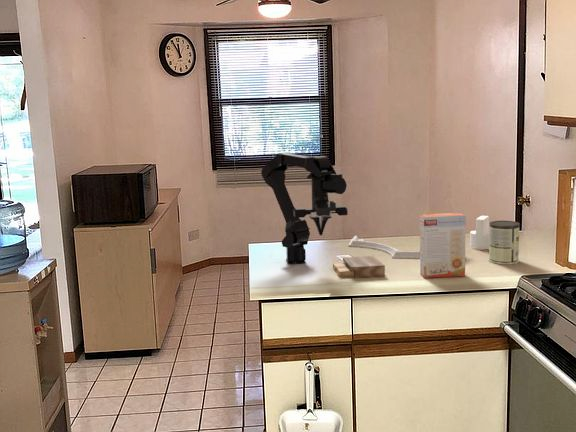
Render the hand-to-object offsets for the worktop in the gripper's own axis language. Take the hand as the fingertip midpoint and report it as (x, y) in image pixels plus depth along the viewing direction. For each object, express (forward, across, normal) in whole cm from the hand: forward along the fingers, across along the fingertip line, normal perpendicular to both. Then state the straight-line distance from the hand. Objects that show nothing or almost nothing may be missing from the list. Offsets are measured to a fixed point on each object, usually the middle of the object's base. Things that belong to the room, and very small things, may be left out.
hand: (320, 235), depth 219 cm
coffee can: (+12, +66, -6) cm, 67 cm away
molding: (+13, +30, +23) cm, 40 cm away
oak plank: (+12, +6, -8) cm, 16 cm away
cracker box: (+12, +38, -19) cm, 44 cm away
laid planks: (+12, +14, -9) cm, 21 cm away
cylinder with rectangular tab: (+12, +68, +17) cm, 71 cm away
